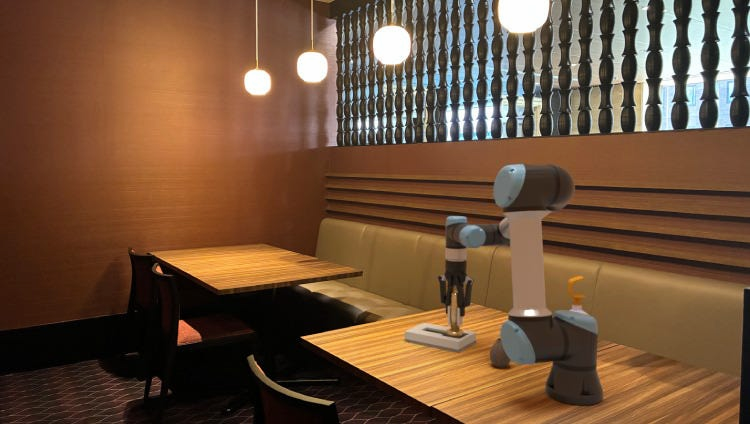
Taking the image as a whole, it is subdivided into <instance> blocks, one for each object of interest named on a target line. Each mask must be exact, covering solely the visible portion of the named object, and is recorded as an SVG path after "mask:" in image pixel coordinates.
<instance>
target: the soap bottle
mask: <svg viewBox="0 0 750 424" xmlns="http://www.w3.org/2000/svg"><path fill="white" fill-rule="evenodd" d="M582 280H584V276H582V275H578V276H575V277H571V278H570V279H568V281H567V294H568V295H569V296H570V297H572V299H573V300H574V302H571V309H569V310H568V311H574V312H579V313H583V314H587V315H589V314H588V313H587V312H586V311H585V310H583V303H581V302H580V300H582V299H585V298H586V295H584V294H581V293H573V286H574V284H575V283H576V282H579V281H582Z"/></svg>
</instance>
